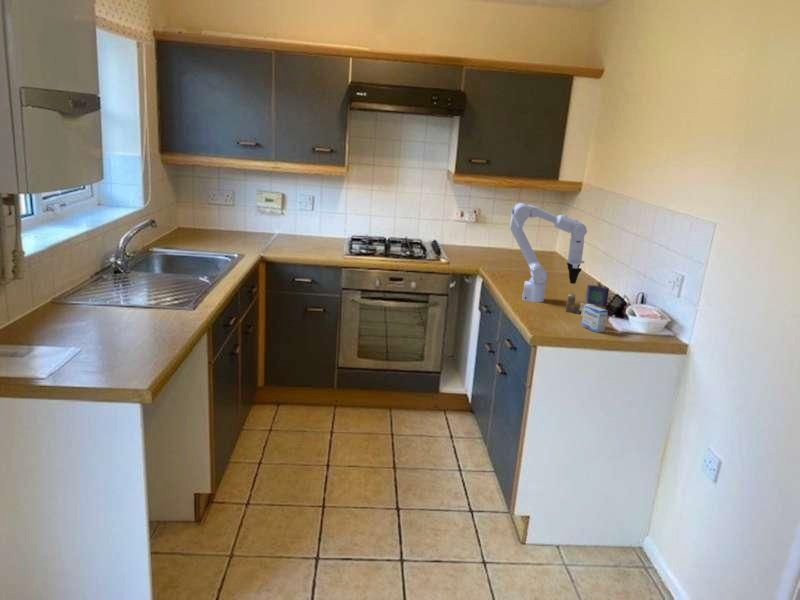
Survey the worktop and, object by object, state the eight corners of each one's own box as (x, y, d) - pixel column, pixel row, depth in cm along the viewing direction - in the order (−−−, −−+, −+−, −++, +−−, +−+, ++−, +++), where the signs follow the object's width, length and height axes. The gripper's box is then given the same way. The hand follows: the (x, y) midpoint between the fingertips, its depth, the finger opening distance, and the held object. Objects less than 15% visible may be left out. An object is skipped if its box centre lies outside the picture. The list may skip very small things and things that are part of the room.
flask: (584, 304, 263) (587, 280, 260) (585, 303, 266) (589, 279, 263) (605, 308, 259) (609, 284, 256) (607, 307, 261) (610, 283, 258)
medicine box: (580, 326, 231) (584, 305, 229) (588, 325, 233) (592, 304, 231) (596, 333, 225) (600, 311, 222) (604, 331, 227) (608, 309, 225)
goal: (581, 316, 243) (582, 309, 242) (579, 309, 252) (580, 303, 251) (594, 317, 242) (596, 310, 241) (593, 311, 251) (594, 304, 250)
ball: (587, 303, 244) (595, 309, 244) (586, 301, 248) (594, 307, 248) (581, 311, 245) (589, 317, 245) (580, 308, 249) (588, 314, 249)
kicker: (566, 312, 246) (568, 296, 244) (565, 309, 251) (567, 293, 249) (578, 313, 245) (580, 297, 243) (577, 310, 250) (580, 294, 248)
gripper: (586, 254, 248) (582, 286, 251) (584, 248, 261) (580, 278, 265) (569, 253, 249) (565, 284, 253) (567, 247, 263) (564, 277, 266)
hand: (572, 281), depth 259 cm, fingers open, 7 cm apart
